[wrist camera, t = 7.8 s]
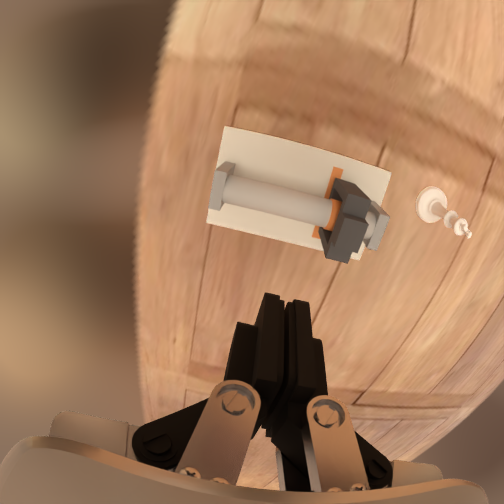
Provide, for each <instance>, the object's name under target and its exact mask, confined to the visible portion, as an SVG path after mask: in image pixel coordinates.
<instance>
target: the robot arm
mask: <svg viewBox="0 0 504 504" xmlns="http://www.w3.org/2000/svg"><path fill="white" fill-rule="evenodd" d="M261 424H262V425H261ZM260 426H261V427H262V428H263V429H266V437H271V442H272V443H273V444H274V445H275V446H276V461H277V470H278V479H279V488H280V491H277V490H266V489H257V488H249V487H242V486H236V483H237V480H238V477H239V474H240V471H241V468H242V465H243V462H244V458H245V455H246V452H247V449H248V446H249V443H250V440H251V439H253V438H254V436H255V434H256V433H257V431H258V429H259V428H260ZM0 504H489V502H488V498H487V496H486V493H485V491H484V490H483V489H482V488H481V487H480V486H479V485H477V484H475V483H473V482H470V481H466V480H460V479H443V477H442V473H441V471H440V469H439V468H438V467H437V466H435V465H431V464H423V463H414V462H407V461H400V460H393V461H389V460H388V459H387V458H386V457H385V456H384V455H383V454H381V453H380V452H379V451H378V450H377V449H375V448H374V447H373V446H372V445H371V444H369V443H368V442H367V441H366V440H365V439H364V438H362V437H361V436H360V435H359V434H358V433H357V432H355V431H354V428H353V425H352V421H351V418H350V414H349V411H348V409H347V407H346V406H345V405H344V404H343V402H341V401H340V400H338V399H337V398H335V397H332V396H328V391H327V381H326V371H325V362H324V354H323V345H322V341H321V340H320V339H316V338H313V336H312V326H311V316H310V306H309V302H305V301H301V300H296V299H294V300H293V302H288V303H287V305H286V307H285V310H284V301H283V300H280V296H279V295H275V294H270V293H266V292H265V294H264V297H263V300H262V303H261V306H260V309H259V313H258V316H257V319H256V322H255V325H250V324H245V323H241V322H237V325H236V329H235V332H234V336H233V340H232V344H231V348H230V353H229V357H228V362H227V367H226V371H225V376H224V381H223V382H221V383H219V384H218V385H216V386H215V388H214V389H213V391H212V392H211V395H210V397H209V398H207V399H205V400H203V401H201V402H198V403H196V404H194V405H192V406H189V407H187V408H185V409H182V410H180V411H177V412H175V413H173V414H170V415H168V416H165V417H163V418H160V419H158V420H155V421H152V422H150V423H147V424H145V425H143V426H134V425H129V424H128V422H123V421H117V420H111V419H106V418H101V417H96V416H91V415H87V414H83V413H78V412H74V411H64V412H60V413H59V414H57V415H56V416H55V417H54V419H53V421H52V424H51V428H50V433H49V436H33V437H27V438H24V439H22V440H21V441H19V442H18V443H17V444H16V445H15V446H14V447H13V448H12V449H11V450H10V451H9V453H8V454H7V455H6V457H5V458H4V460H3V461H2V463H1V465H0Z"/></svg>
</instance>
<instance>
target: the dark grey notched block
mask: <svg viewBox="0 0 504 504" xmlns="http://www.w3.org/2000/svg"><path fill="white" fill-rule="evenodd" d="M329 199H335V200H338V201H342V205H341V208H340V211H339V213H338V216H337V219H336V222H335V225H334V228H333V231H329V230H325V229H323V227H319V230H318V233H319V236H320V239H321V243H322V247H323V250H324V254H325V257H326V258H328V259H332V260H336V261H340V262H344V263H348V262H349V259H350V257H351V254H352V252H354V253H358V251H359V249H360V246H361V244H362V241H363V239H364V236H365V234H366V231H367V228H368V226H369V224H368V223H367V221H366V220H365V218H366V215H367V212H368V210H369V207H370V204H371V201H372V200H371V199H370V198H369V197H368V196H367V195H366V194H365V193H364V192H363V191H362V190H361V189H360V188H359V187H358V186H357V185H356V184H355V183H351V182H348V181H345V180H342V179H339V178H335V180H334V183H333V187H332V190H331V193H330V196H329Z"/></svg>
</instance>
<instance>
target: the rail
mask: <svg viewBox="0 0 504 504" xmlns="http://www.w3.org/2000/svg"><path fill="white" fill-rule="evenodd" d="M391 174H392V173H391V172H389V171H387V170H384V169H382V168H379V167H376V166H373V165H370V164H368V163H365V162H362V161H359V160H356V159H353V158H350V157H347V156H344V155H340V154H337V153H334V152H331V151H327V150H324V149H321V148H317V147H314V146H310V145H307V144H303V143H299V142H296V141H292V140H288V139H284V138H280V137H276V136H272V135H267V134H263V133H259V132H254V131H250V130H245V129H240V128H235V127H230V126H224V131H223V136H222V141H221V146H220V151H219V156H218V161H217V166H216V170H215V173H214V178H213V183H212V189H211V194H210V200H209V206H208V208H209V209H208V215H207V221H206V223H209V224H213V225H218V226H222V227H226V228H230V229H235V230H239V231H243V232H247V233H251V234H255V235H260V236H264V237H268V238H272V239H276V240H280V241H284V242H288V243H292V244H296V245H300V246H304V247H308V248H312V249H316V250H320V251H324V250H323V247H322V243H321V239H320V236H319V233H318V230H319V227H323V229H325V230H329V231H333V228H334V225H335V222H336V219H337V216H338V213H339V211H340V208H341V205H342V201H338V200H335V199H329V196H330V193H331V190H332V187H333V183H334V180H335V178H339V179H342V180H345V181H348V182H351V183H355V184H356V185H357V186H358V187H359V188H360V189H361V190H362V191H363V192H364V193H365V194H366V195H367V196H368V197H369V198H370V199H371V200H372V201H371V204H370V207H369V210H368V212H367V215H366V218H365V220H366V221H367V223H368V224H369V226H368V228H367V231H366V234H365V236H364V239H363V241H362V244H361V246H360V249H359V251H358V253H354V252H352V254H351V257H350V258H352V259H355V260H360V258H361V255H362V253H363V250H364V248H365V246H366V247H367V248H368V249H372V250H375V251H377V249H378V246H379V244H380V241H381V239H382V237H383V234H384V232H385V229H386V227H387V224H388V221H389V219H390V216H389V215H388V214H387V213H386V212H385V211H384V210H383V209H382V208H381V207H380V206H381V203H382V201H383V198H384V195H385V192H386V189H387V186H388V183H389V180H390V177H391Z"/></svg>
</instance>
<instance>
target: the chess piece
mask: <svg viewBox="0 0 504 504" xmlns="http://www.w3.org/2000/svg"><path fill="white" fill-rule="evenodd" d="M415 208H416V212H417V215H418V216H419V218H420V219H422V220H423V221H425V222H428V223H434V222H437V221H438V220H440V219H441V218H443V219H444V224H445V226H446V227H448V228H453V231H454V232H455V234H456V235H463V234H464V233H465V235H466V237H467V238H468V239H469V238H470V237H471V235H472V233H471V231H469V230H468V228H467V227H468V224H467V221H466V220H465V219H464V218H458V215H457V213H456V212H455V211H453V210H451V211H447V210H446V209H447V198H446V195H445V194H444V192H443V191H442V190H441V189H439V188H438V187H435V186H429V187H426V188H425V189H423V190H422V191H421V192H420V193H419V195H418V197H417V199H416V204H415Z"/></svg>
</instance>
